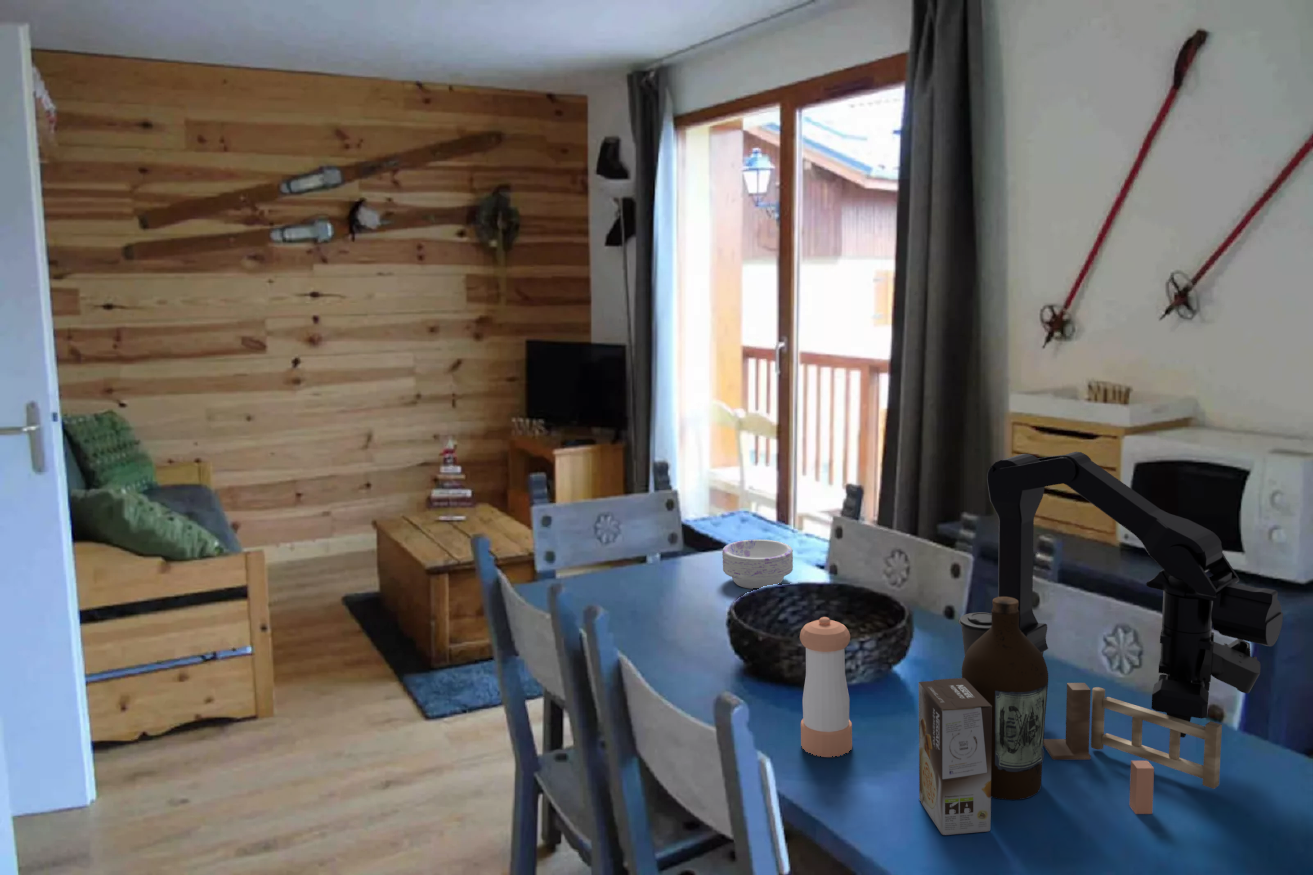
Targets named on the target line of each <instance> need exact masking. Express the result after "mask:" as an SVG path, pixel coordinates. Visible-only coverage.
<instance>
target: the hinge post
mask: <svg viewBox="0 0 1313 875" xmlns="http://www.w3.org/2000/svg"><path fill="white" fill-rule="evenodd" d="M1091 692H1092V691H1091V688H1090V687H1089V685H1087V684H1086V682H1067V683H1066V701H1065V702H1066V707H1065V708H1066V711H1065V712H1066V713H1065V738H1044V742H1043V748H1045V750H1046V752H1047V753H1048V754H1049V756H1050V758H1051V759H1052V760H1057V761H1059V760H1062V761H1063V760H1069V761H1070V760H1074V761H1079V760H1081V761H1082V760H1083V761H1084V760H1085V761H1086V760H1091V754H1090V730H1091V729H1090V725H1091V723H1090V722H1091V721H1090V720H1091V719H1090V717H1091V695H1092V694H1091Z"/></svg>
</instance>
